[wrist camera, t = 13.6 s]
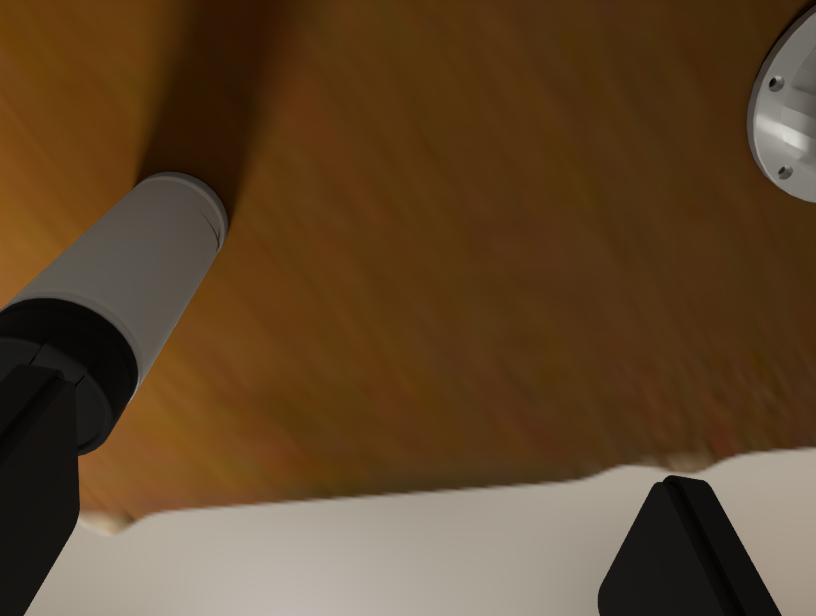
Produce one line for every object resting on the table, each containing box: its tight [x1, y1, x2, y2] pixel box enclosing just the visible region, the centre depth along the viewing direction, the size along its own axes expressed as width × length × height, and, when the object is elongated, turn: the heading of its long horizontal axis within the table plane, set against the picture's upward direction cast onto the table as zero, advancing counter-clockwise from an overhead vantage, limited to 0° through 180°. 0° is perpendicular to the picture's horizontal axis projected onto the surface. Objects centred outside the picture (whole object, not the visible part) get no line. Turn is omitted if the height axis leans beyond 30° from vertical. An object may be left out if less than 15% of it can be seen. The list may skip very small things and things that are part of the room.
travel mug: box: [0, 172, 228, 456], centre depth 33 cm, size 6×7×20 cm
